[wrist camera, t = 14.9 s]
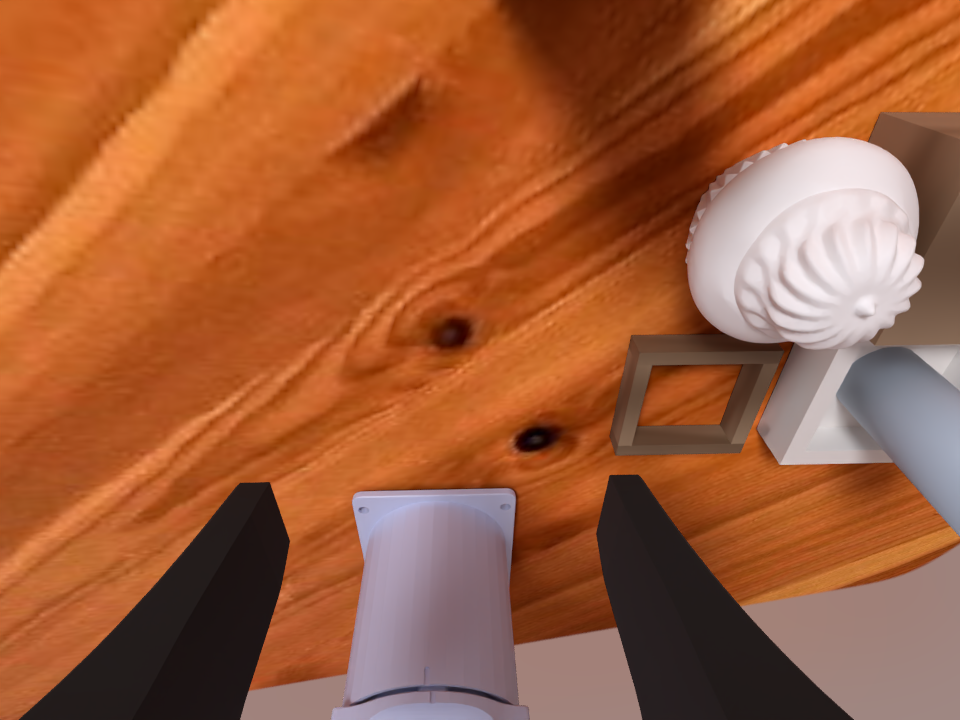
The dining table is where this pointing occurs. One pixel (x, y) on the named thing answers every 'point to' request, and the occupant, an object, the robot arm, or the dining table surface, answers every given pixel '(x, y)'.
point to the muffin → (807, 244)
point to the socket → (692, 351)
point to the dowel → (910, 421)
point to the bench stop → (928, 223)
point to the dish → (831, 405)
